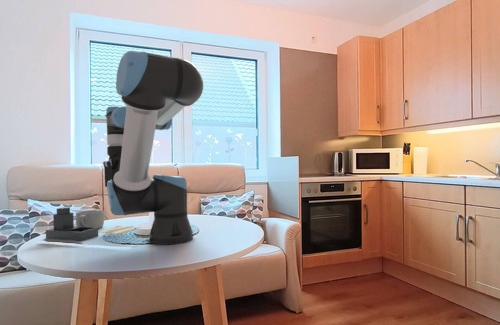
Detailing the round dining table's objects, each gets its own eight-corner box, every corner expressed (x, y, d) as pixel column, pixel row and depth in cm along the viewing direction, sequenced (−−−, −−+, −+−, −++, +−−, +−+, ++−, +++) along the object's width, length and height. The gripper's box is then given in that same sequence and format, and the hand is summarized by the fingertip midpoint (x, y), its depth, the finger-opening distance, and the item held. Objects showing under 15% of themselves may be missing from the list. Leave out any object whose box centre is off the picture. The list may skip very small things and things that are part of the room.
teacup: (87, 227, 135) (87, 209, 135) (110, 227, 134) (110, 209, 134) (64, 235, 121) (63, 214, 121) (89, 235, 120) (89, 215, 120)
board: (141, 229, 128) (141, 227, 128) (121, 236, 117) (121, 234, 117) (117, 228, 132) (117, 225, 132) (95, 235, 120) (95, 232, 120)
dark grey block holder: (98, 238, 115) (97, 207, 115) (80, 243, 107) (79, 210, 107) (65, 235, 120) (64, 206, 120) (45, 241, 112) (45, 209, 112)
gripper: (124, 147, 134) (126, 201, 133) (92, 145, 117) (94, 206, 117) (139, 146, 131) (140, 201, 131) (108, 144, 115) (110, 207, 114)
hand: (119, 203), depth 124 cm, fingers closed on plug, 4 cm apart
